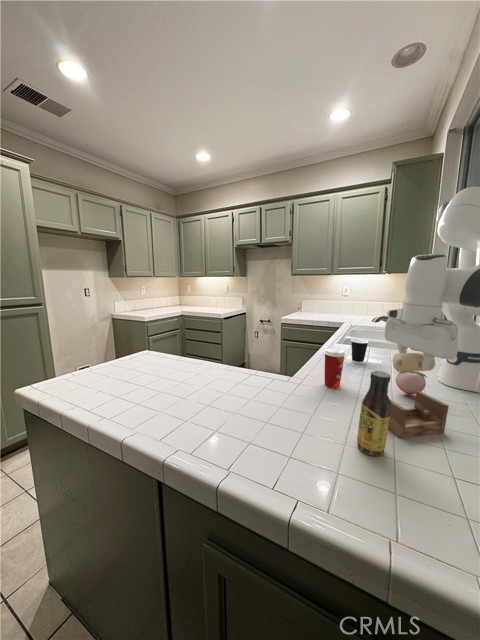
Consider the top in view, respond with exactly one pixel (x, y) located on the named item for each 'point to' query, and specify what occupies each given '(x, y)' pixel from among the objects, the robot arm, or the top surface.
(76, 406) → the top surface
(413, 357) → the roll
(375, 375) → the sauce bottle
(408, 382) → the decorative fruit
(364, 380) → the top surface
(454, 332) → the robot arm
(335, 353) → the paper cup
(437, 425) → the holder
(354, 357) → the dixie cup
